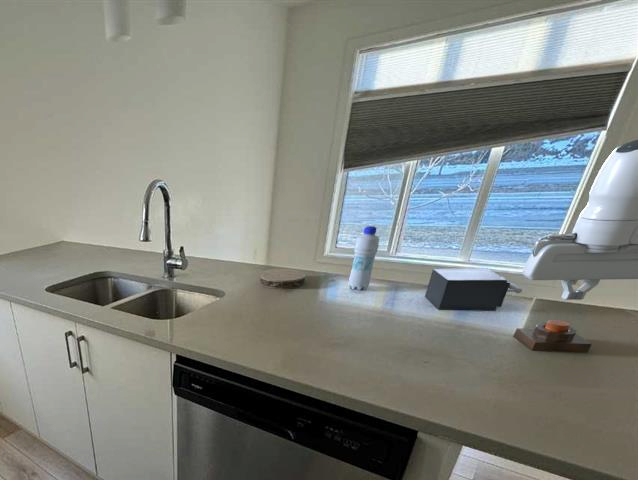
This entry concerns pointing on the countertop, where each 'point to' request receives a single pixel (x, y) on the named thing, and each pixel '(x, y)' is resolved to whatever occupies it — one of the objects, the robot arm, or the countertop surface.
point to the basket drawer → (511, 289)
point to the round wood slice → (282, 278)
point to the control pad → (551, 340)
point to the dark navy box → (465, 289)
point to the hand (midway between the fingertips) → (571, 298)
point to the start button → (557, 326)
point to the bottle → (364, 259)
